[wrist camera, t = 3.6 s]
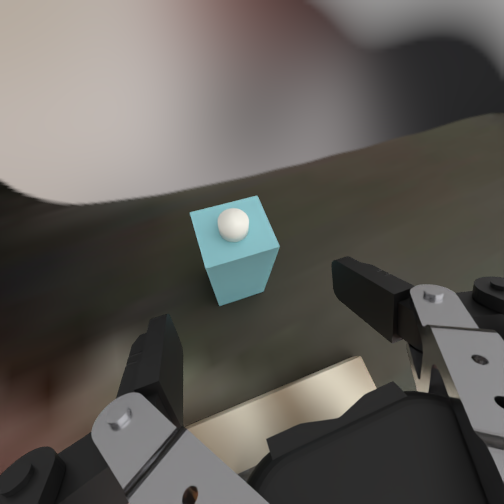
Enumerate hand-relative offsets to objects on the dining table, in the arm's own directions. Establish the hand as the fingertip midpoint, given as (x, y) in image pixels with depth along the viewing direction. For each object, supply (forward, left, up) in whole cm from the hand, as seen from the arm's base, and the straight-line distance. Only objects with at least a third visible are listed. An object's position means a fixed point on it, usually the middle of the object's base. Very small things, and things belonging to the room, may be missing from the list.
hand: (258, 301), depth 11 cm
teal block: (0, +4, -9) cm, 10 cm away
